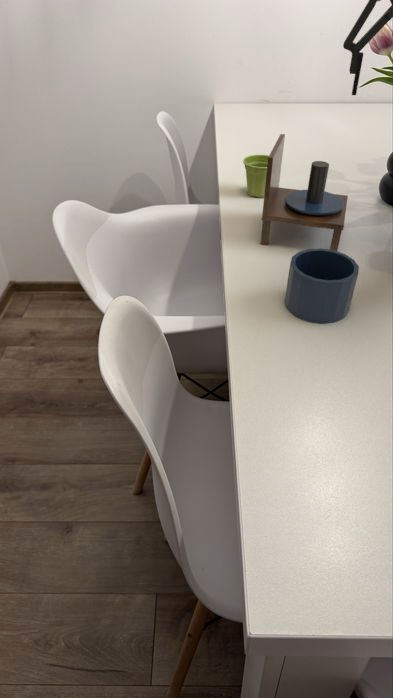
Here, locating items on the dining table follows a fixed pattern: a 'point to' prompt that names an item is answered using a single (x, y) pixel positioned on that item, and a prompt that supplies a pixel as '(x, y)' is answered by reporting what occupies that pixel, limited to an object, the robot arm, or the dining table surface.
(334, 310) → the pot
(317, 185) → the lid
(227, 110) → the dining table surface
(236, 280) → the dining table surface
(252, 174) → the plant pot
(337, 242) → the wooden toy chair
